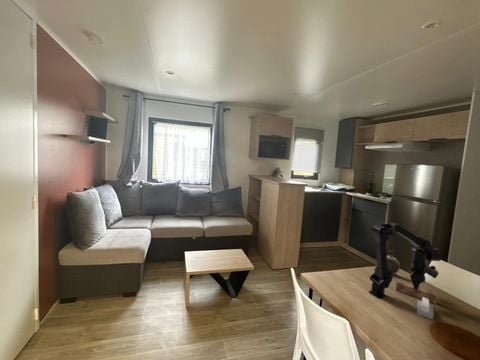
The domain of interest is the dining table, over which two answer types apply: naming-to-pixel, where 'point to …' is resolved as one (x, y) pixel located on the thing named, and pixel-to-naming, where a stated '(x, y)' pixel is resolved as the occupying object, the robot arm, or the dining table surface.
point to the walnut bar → (416, 292)
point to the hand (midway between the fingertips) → (415, 286)
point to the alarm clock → (393, 263)
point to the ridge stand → (425, 308)
